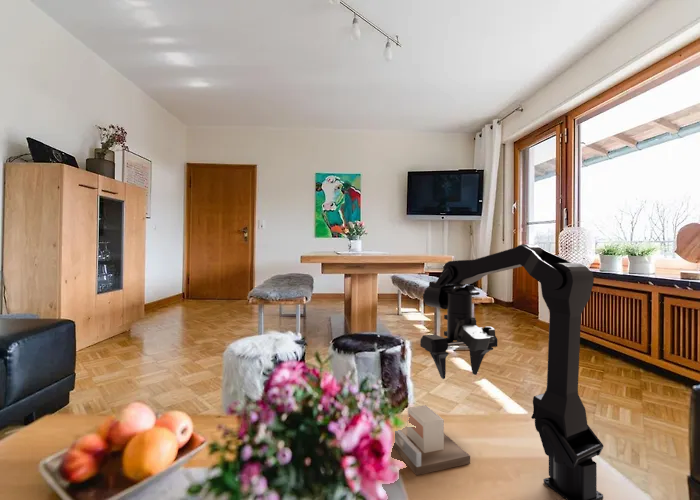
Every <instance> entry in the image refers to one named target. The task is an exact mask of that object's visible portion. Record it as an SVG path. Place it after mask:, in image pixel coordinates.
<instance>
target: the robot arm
mask: <svg viewBox="0 0 700 500" xmlns="http://www.w3.org/2000/svg"><path fill="white" fill-rule="evenodd" d="M521 267H523V268H524V270H525V271H526V272H527V273H528V275H529V276H530V277H532V279H534V280H536V281H537V282H538V283H540V289H541V291H540V292H541V296H542V297H541V298H543V301H544V303H545V305H546V307H547V309H548V312H549V320H548V322H549V323H548V344H547V345H548V347H547V348H548V349H547V371H546V372H547V373H546V374H547V375H546V389H545V392H544V393H541V394H538V395H534V396H533V398H532V406H533V411H532V415H531V419H533V420H534V427H535V430H536V432H538V435H539V437H540V441H541V444H542V448H543V451H544V454H545V455H546V456H547V457H548V477H545V478H543V483H544V484H545V485H546V486H548V487H549V488H550V489H552V490H554V491H555V492H556V493H557V494H559V496H561V497H563V498H564V499H565V500H603V499H604V494H603V493H601V492H600V491H599V490H597V489H598V488H597V487H598V486H597V485H598V484H597V483H598V482H597V480H598V477H597V465H598V464H597V462H596V461H595V460H593V458H594V457H596V456H600V455H601V453H602V451H603V450H604V444H603V443H602V441H601V440H600V439H599V437H598V436H597V435H596V434H595V432H594V431H593V430H592V428H591V427H590V426H589V424H588V418H587V412H586V407H585V405H584V404H583V401H582V399H581V397H580V396H579V395H580V394H579V376H580V375H579V374H580V347H581V344H580V343H581V326H582V324H581V323H582V321H581V320H582V313H583V311H584V310H585V307H587V306H586V305H587V304H588V302H589V300H591V299H590V297H591V294H592V290H593V287H594V282H595V281H594V280H595V278H594V274H593V272H592V270H590V269H589V268H588V267H587V266H586V265H584V264H583V263H577V262H571V261H569V260H568V259H566V258H563V257H561V256H559V255H556V254H554V253H552V252H550V251H547V250H546V249H544V248H542V247H541V246H540V245H538V244H528V243H527V244H526V243H525V244H524V243H522V244H519V245H517V246H515V247H512V248H508V249H505V250H502V251H499V252H495V253H492V254H489V255H484V256H482V257H479V258H475V259H462V260H449V261H447V262H446V263H445V264H444V268H443V270H442V271H441V273H440V275H439V276H438V278H437V280H436V281H429V283H428V286H426V288H425V290H424V293H423V294H422V299H423V302H424V304H425V305H426V306H428V307H432V308H437V309H442V310H447V314H443V319H444V320H447V321H446V322H447V324H446V325H447V326H446V327H447V329H446V330H445V331H444V332H443V335H444V336H445V337H442V336H440V335H437V334H434V333H433V334H424V335H422V337H421V338H420V343H419V344H420V346H419V347H421V348H423V349H424V350H425V351H427V352H429V354H430V356H431V357H432V361H434V364H435V366H436V369H437V371H438V373H439V376H440V378H441V379H442V380H445V379H446V373H447V371H446V369H447V365H446V364H447V363H446V360H447V359H446V358H447V357H448V355H449V352H447V350H448V349H449V346H450V347H451V346H459V345H460V346H462V345H463V346H464V345H465V346H467V348H468V349H469V359H470V368H471V373H472V375H474V376H477V374H478V373H479V370H480V368H481V364H482V362H483V360H484V357H485V355H486V354H488V353H489V352H490V351H493V350H494V348H496V347H498V342H499V341H498V338H497V336H496V329H495V328H494V327H492V326H484V327H483V326H482V327H481V326H480V327H479V326H478V325H477V320H476V317H474V316H473V296H480V291H479V290H478V289H477V288H476V287H474V285H473V283H475V282H478V281H480V280H482V278H484V277H485V276H487V275H491V274H495V273H500V272H504V271H508V270H513V269H518V268H521Z"/></svg>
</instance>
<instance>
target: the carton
mask: <svg viewBox="0 0 700 500" xmlns="http://www.w3.org/2000/svg"><path fill="white" fill-rule="evenodd" d="M408 417H410V418H409V420H408V419H407V422H408V421H409V423H411V424H412V425H414V426H416V428H415V427H408V436H409V437H410V438H411V440H412V441H413V442H414V443H415V444H416V445H417V446H418V447H419V448H420V449H421V450H422V451H423V452H424V453H427V452H432V451H437V450H443V449H444V434H445V424H444V423H445V419H444V418H442V417H441V416H440V414H437V413H436V412H435V411H434V410H433V409H431V408H430V407H429V406H428V405H426V404H423V405H418V406H416V405H415V406H410V407H407V418H408Z"/></svg>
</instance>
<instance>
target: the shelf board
mask: <svg viewBox="0 0 700 500" xmlns="http://www.w3.org/2000/svg"><path fill="white" fill-rule="evenodd" d="M404 427H405V428H403V429H402V430H398V431H395V443H394V446H392V447H393V448H394V450H395V451H396V452H397V454H398V455H399V456H400V458H402V460H403V461H404V463H406V465H407V466H408V467H409V468H410V469H411V471H412V472H413V473H414V474H415V476H419V475H424V474H428V473H435V472H437V471H442V470H446V469H451V468H454V467H455V468H456V467H460V466H464V465H470V464H471V455H470V454H469V453H468V452H467V451H465V449H464V448H462V447H461V446H459V444H457V443H456V442H455V441H454V440H452V439H451V437H449V436H448V435H447V434H446V433H444V449H443V450H437V451H432V452H427V453H424V452H423V451H422V450H421V449H420V448H419V447H418V446H417V445H416V444H415V443H414V442H413V441H412V440H411V438H410V437H409V436H408V427H407V426H404Z"/></svg>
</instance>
